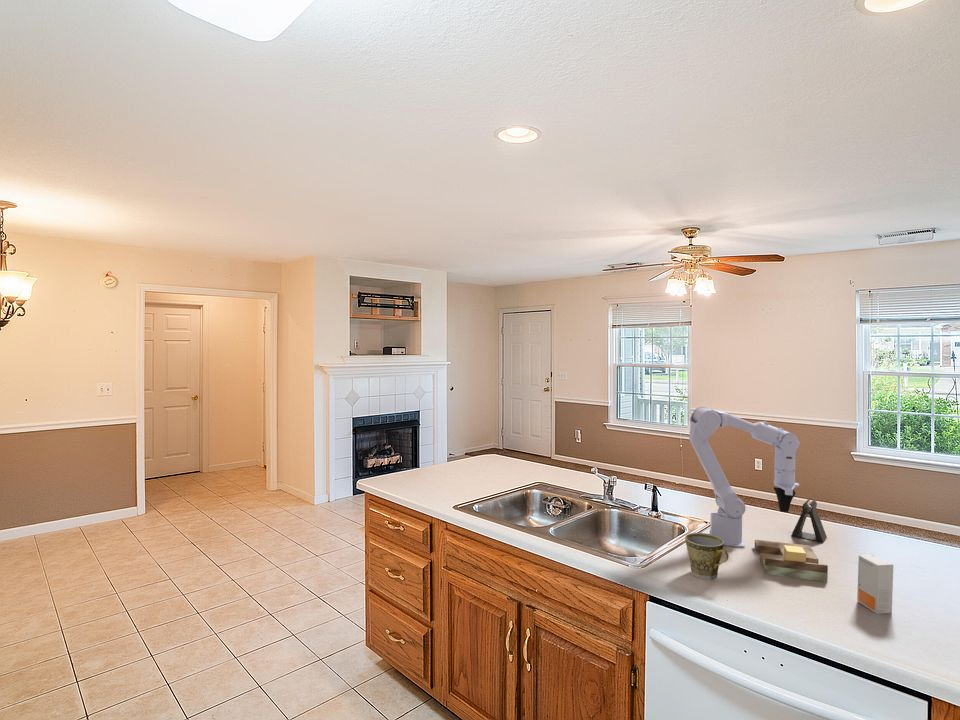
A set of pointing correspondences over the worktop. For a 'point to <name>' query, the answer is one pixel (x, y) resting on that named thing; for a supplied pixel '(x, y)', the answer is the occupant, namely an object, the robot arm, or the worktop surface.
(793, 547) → the block
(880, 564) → the skincare box
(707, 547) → the ceramic cup
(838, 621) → the worktop surface
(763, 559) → the box
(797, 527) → the phone stand
